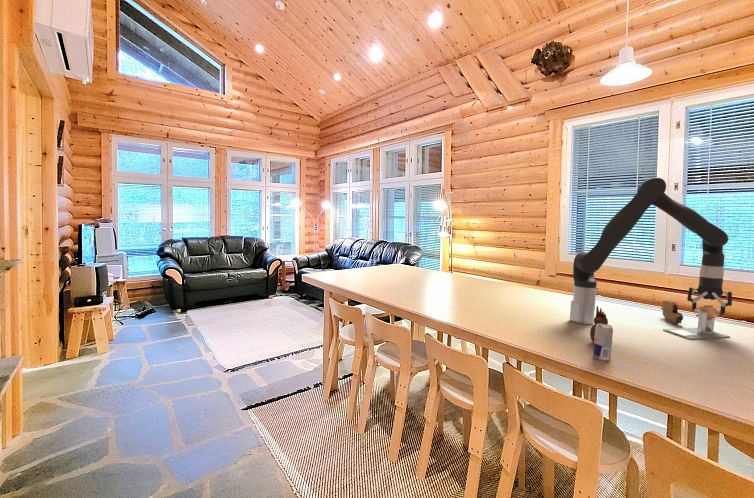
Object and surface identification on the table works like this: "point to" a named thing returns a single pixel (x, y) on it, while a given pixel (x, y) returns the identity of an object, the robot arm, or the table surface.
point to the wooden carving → (671, 312)
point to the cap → (709, 311)
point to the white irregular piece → (705, 322)
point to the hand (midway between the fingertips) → (707, 312)
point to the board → (694, 334)
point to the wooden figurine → (598, 322)
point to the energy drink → (603, 342)
